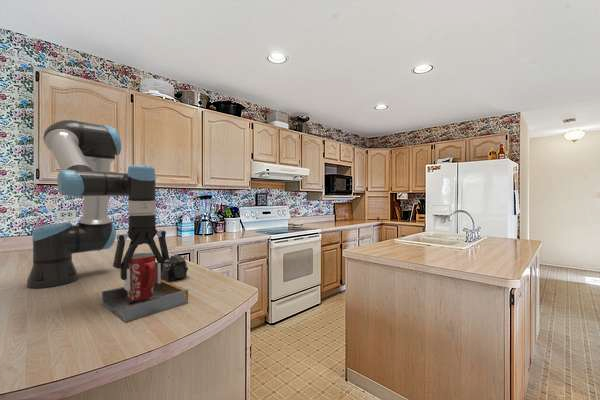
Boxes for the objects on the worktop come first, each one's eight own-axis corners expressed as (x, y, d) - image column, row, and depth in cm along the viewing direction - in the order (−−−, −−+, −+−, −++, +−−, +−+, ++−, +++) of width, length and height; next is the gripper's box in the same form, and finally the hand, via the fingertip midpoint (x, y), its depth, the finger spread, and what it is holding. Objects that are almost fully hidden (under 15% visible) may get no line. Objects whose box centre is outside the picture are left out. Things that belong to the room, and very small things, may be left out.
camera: (173, 285, 107) (172, 259, 107) (151, 283, 110) (150, 258, 109) (194, 275, 120) (193, 252, 120) (174, 274, 123) (173, 251, 122)
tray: (101, 304, 88) (101, 291, 88) (159, 289, 102) (159, 278, 102) (125, 322, 76) (125, 307, 76) (188, 302, 90) (187, 290, 90)
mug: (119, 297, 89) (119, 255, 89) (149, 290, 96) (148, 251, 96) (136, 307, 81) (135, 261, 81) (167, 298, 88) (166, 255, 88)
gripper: (107, 217, 78) (108, 298, 78) (180, 213, 94) (181, 280, 94) (98, 215, 82) (99, 292, 83) (170, 212, 99) (170, 276, 99)
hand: (143, 285), depth 88 cm, fingers closed on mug, 8 cm apart
